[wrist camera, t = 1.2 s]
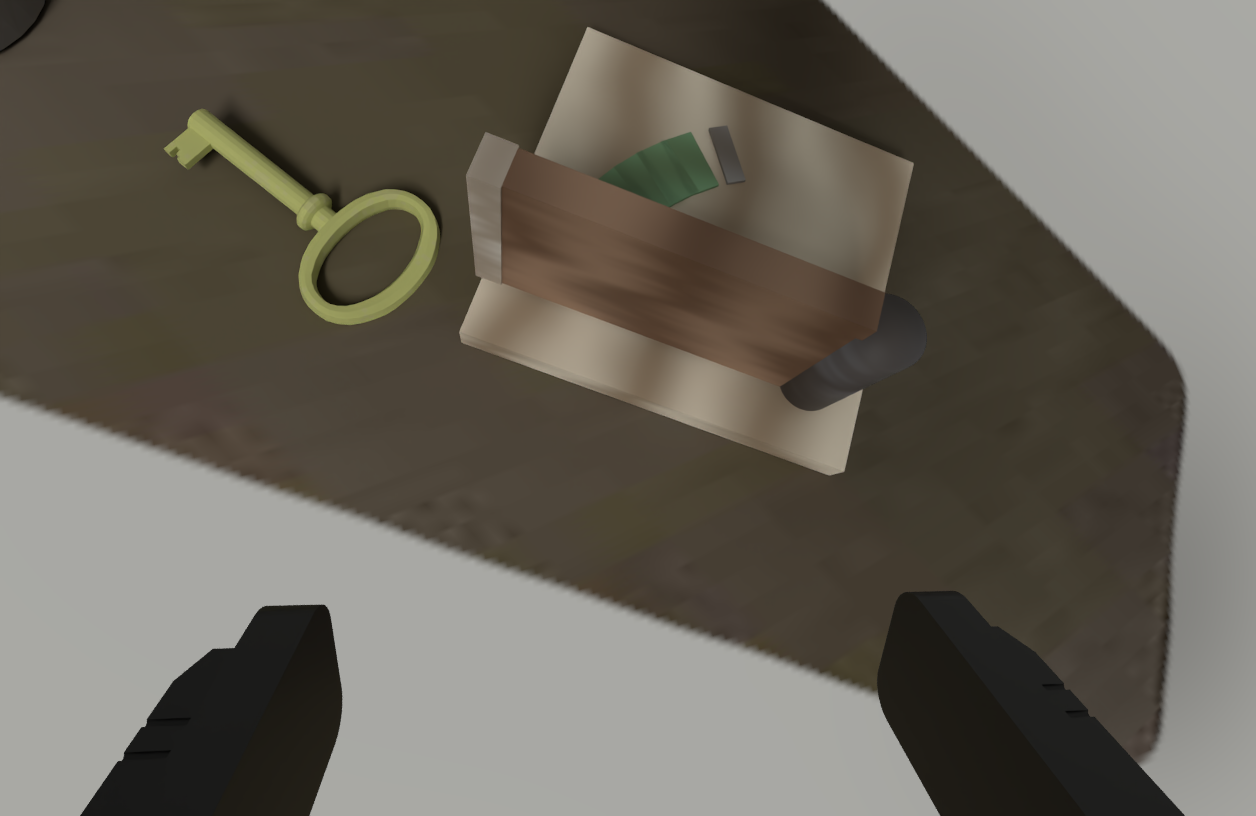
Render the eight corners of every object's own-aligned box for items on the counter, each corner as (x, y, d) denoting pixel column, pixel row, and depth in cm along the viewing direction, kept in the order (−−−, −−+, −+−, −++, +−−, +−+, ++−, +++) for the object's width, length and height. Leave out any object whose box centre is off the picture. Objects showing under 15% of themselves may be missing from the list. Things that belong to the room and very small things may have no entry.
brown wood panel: (471, 287, 29) (459, 189, 22) (494, 230, 30) (492, 118, 23) (829, 420, 31) (935, 373, 24) (843, 363, 32) (949, 300, 24)
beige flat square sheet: (461, 342, 31) (459, 330, 29) (584, 48, 36) (588, 23, 34) (829, 475, 33) (846, 470, 31) (897, 178, 38) (916, 161, 36)
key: (207, 127, 31) (187, 97, 29) (455, 220, 33) (452, 198, 31) (131, 255, 30) (104, 233, 27) (399, 349, 31) (392, 334, 29)
